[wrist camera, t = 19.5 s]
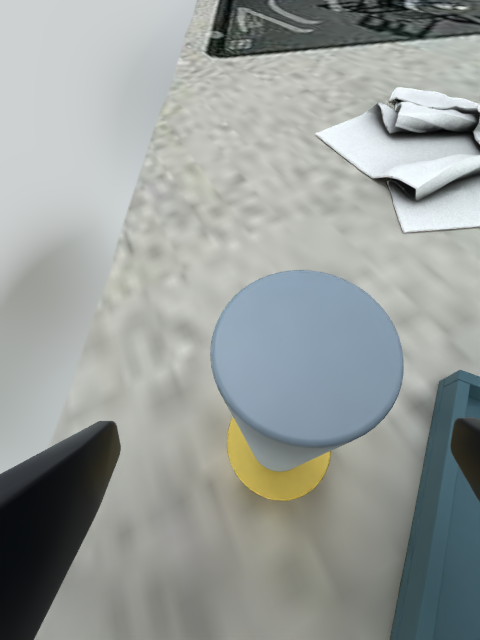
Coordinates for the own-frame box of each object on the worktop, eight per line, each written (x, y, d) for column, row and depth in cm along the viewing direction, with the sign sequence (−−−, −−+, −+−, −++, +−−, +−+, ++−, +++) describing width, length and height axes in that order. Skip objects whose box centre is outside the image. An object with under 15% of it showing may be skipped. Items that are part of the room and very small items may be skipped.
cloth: (634, 235, 21) (675, 207, 19) (319, 231, 23) (324, 207, 21) (529, 89, 30) (548, 60, 28) (313, 98, 33) (316, 72, 31)
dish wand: (324, 500, 15) (591, 596, 3) (230, 494, 15) (82, 547, 3) (317, 404, 17) (444, 214, 5) (236, 401, 18) (164, 220, 5)
